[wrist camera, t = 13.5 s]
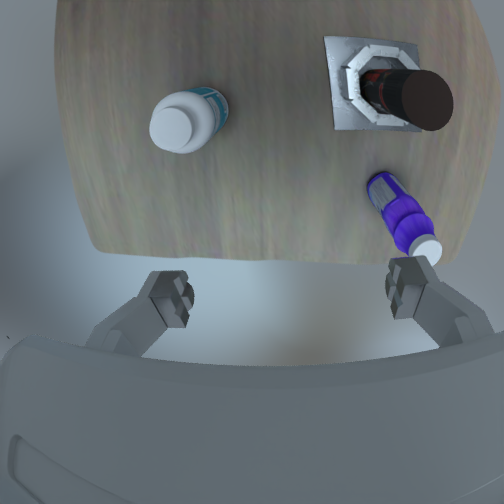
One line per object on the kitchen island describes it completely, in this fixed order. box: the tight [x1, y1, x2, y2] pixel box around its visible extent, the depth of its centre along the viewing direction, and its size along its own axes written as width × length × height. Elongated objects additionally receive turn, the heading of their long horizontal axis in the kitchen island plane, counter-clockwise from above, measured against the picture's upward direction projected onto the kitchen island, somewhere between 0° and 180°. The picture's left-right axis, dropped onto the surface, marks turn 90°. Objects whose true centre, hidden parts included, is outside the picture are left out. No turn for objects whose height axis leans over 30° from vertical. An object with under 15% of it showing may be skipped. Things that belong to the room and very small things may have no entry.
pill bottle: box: [149, 87, 228, 154], centre depth 29 cm, size 8×7×14 cm
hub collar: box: [323, 37, 422, 132], centre depth 27 cm, size 14×14×5 cm
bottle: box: [367, 172, 442, 266], centre depth 32 cm, size 7×6×17 cm
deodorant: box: [359, 69, 453, 131], centre depth 23 cm, size 6×6×15 cm
